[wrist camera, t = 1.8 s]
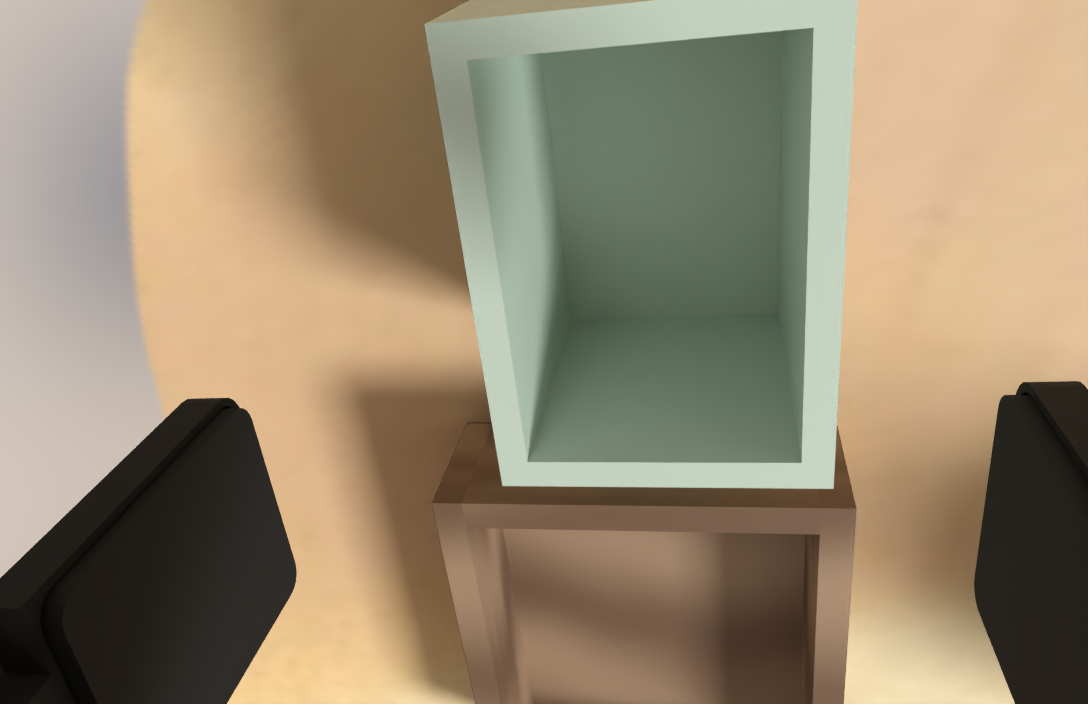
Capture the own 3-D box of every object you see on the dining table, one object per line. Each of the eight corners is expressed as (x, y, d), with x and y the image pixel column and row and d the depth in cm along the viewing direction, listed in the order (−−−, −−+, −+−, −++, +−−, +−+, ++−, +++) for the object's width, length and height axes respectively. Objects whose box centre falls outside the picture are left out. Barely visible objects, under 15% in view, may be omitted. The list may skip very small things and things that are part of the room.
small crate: (512, -22, 20) (423, 23, 14) (809, -56, 18) (858, -21, 12) (554, 330, 24) (502, 485, 18) (800, 323, 23) (833, 489, 17)
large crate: (466, 423, 26) (431, 503, 23) (835, 421, 24) (856, 508, 20) (521, 721, 32) (500, 818, 29) (820, 740, 30) (834, 847, 26)
